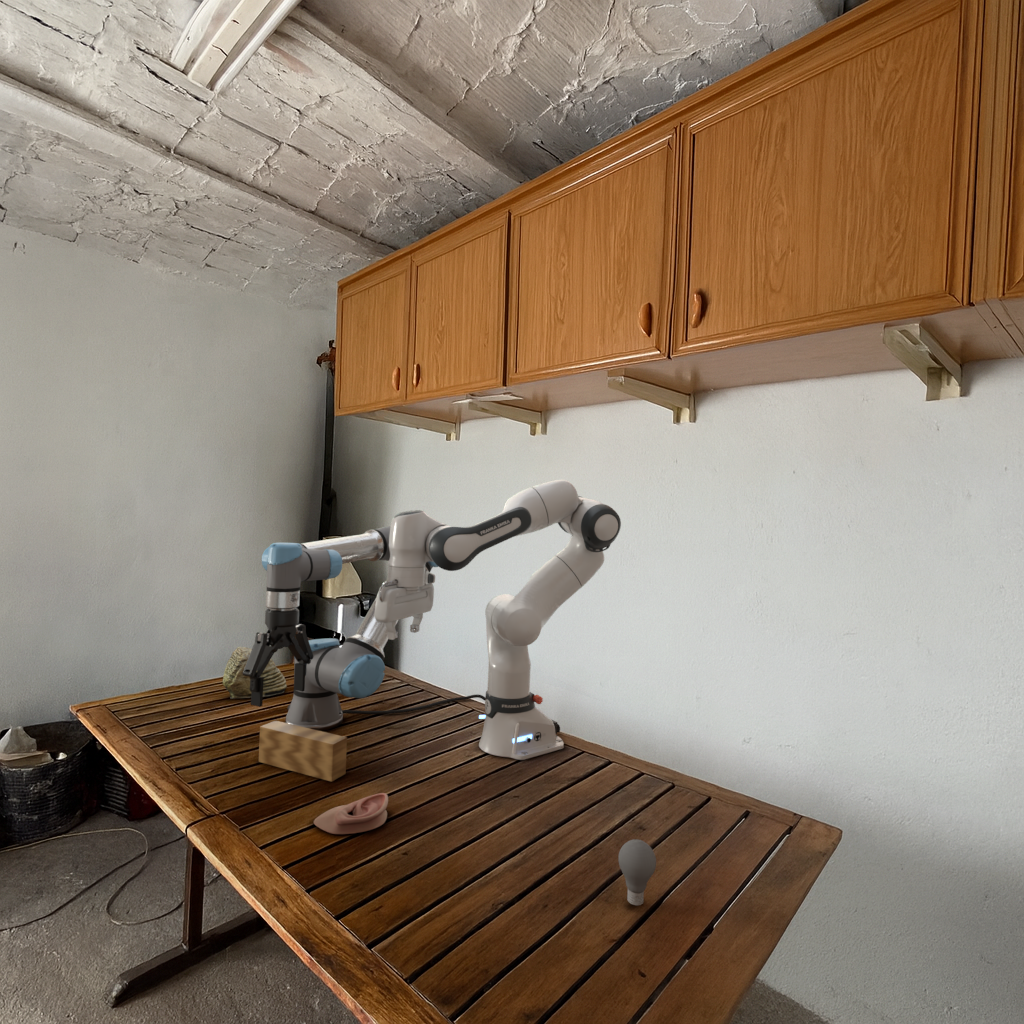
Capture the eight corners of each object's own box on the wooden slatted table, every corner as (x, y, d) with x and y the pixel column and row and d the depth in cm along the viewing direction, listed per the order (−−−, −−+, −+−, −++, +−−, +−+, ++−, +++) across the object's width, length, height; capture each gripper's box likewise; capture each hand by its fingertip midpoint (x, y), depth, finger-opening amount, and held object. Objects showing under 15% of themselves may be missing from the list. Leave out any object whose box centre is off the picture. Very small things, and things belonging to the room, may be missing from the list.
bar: (258, 761, 150) (259, 726, 149) (273, 754, 154) (275, 720, 154) (331, 781, 141) (333, 744, 141) (345, 773, 145) (347, 737, 145)
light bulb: (612, 891, 105) (615, 832, 105) (647, 891, 106) (650, 832, 105) (621, 915, 99) (624, 852, 99) (659, 914, 100) (662, 852, 99)
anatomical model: (306, 809, 120) (334, 783, 131) (305, 829, 120) (334, 802, 131) (371, 819, 117) (395, 791, 129) (370, 840, 117) (394, 811, 129)
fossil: (218, 695, 195) (220, 647, 195) (278, 685, 208) (279, 640, 207) (228, 703, 189) (230, 653, 188) (289, 692, 201) (290, 645, 201)
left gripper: (253, 617, 137) (249, 715, 137) (330, 603, 160) (326, 687, 160) (228, 613, 140) (224, 709, 140) (306, 600, 163) (303, 682, 163)
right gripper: (392, 583, 141) (390, 645, 141) (439, 575, 159) (436, 629, 160) (369, 581, 143) (366, 641, 143) (417, 573, 162) (415, 626, 162)
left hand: (278, 697), depth 150 cm, fingers open, 13 cm apart
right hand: (404, 635), depth 152 cm, fingers open, 8 cm apart
